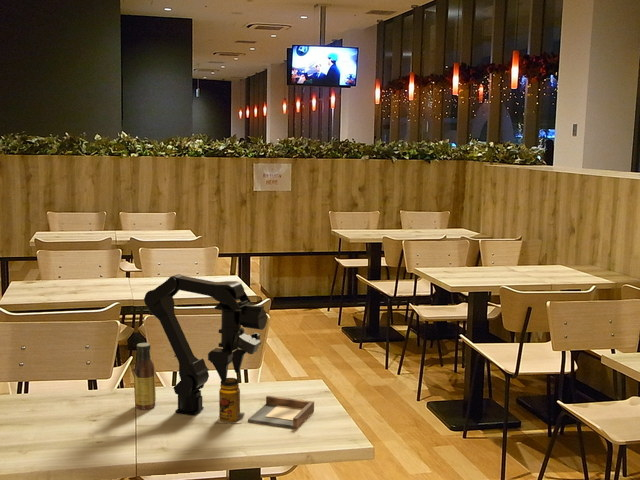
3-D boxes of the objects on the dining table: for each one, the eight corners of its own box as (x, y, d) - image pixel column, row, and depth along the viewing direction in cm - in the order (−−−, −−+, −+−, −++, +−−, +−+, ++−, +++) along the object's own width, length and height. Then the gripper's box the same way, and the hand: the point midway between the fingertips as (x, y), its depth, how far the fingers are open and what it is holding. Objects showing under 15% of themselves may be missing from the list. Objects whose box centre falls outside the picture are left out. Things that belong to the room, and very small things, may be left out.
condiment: (215, 423, 230) (215, 383, 228) (220, 412, 239) (220, 374, 237) (240, 424, 230) (241, 384, 228) (244, 413, 238) (245, 374, 237)
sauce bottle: (142, 402, 246) (141, 340, 243) (159, 405, 244) (159, 342, 241) (130, 409, 240) (129, 345, 237) (147, 412, 238) (146, 347, 235)
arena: (248, 421, 231) (248, 412, 231) (267, 404, 246) (267, 395, 245) (297, 428, 227) (297, 418, 226) (314, 411, 241) (314, 401, 241)
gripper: (243, 336, 219) (243, 390, 221) (269, 320, 236) (268, 371, 239) (207, 332, 222) (206, 385, 225) (234, 317, 240) (234, 367, 242)
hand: (230, 377), depth 232 cm, fingers open, 9 cm apart
